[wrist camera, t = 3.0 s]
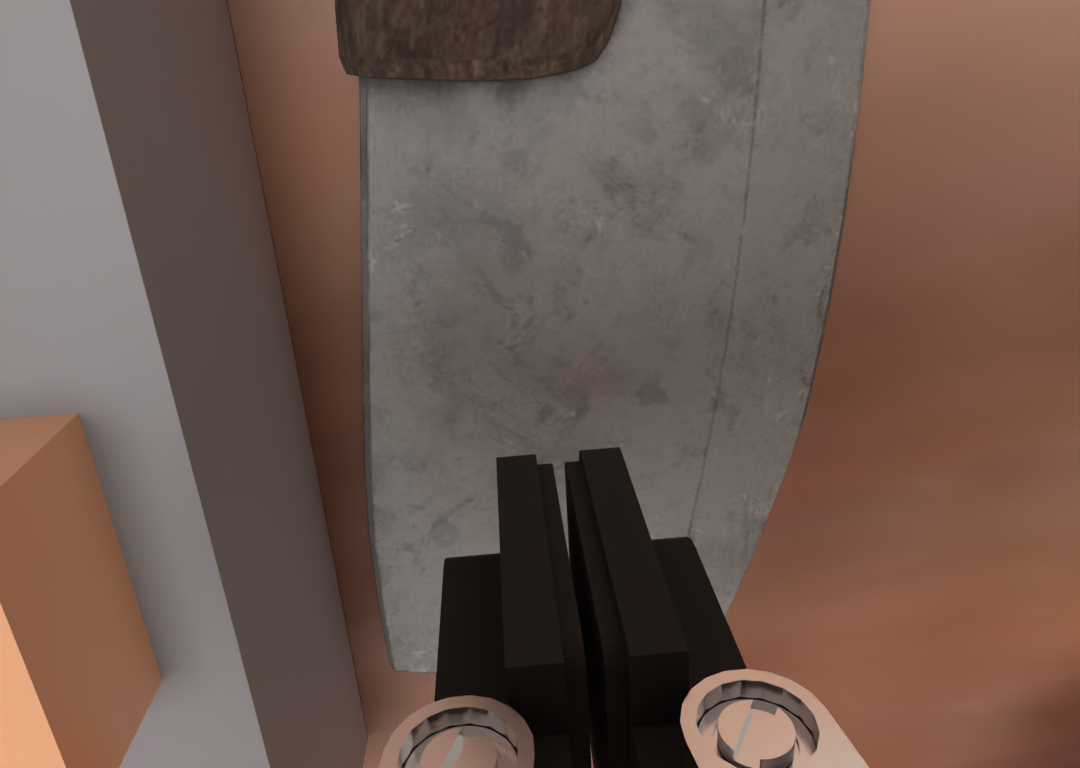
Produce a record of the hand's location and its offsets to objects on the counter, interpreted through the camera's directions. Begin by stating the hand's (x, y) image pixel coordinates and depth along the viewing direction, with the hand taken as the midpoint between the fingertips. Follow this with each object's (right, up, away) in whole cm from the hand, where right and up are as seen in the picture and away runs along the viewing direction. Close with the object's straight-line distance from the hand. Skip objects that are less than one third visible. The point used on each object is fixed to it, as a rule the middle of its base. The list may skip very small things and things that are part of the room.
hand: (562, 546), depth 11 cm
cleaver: (+1, +8, +5) cm, 9 cm away
